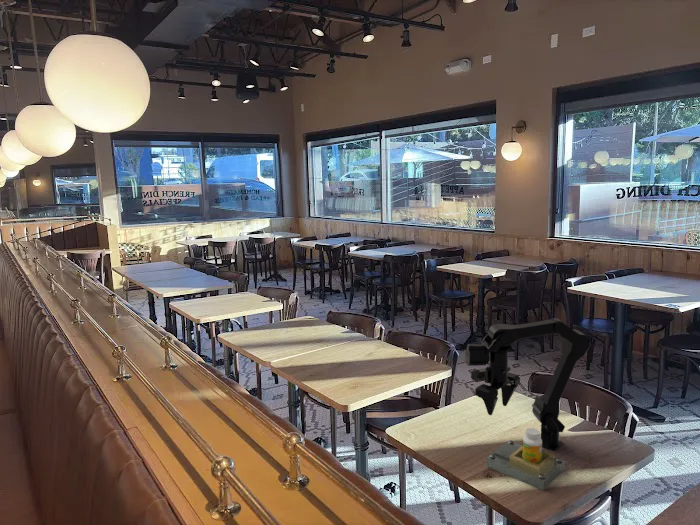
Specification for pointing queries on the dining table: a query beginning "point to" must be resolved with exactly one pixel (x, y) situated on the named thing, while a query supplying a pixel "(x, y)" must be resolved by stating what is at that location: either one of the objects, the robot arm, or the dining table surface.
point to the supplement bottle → (532, 446)
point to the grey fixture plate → (525, 465)
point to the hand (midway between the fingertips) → (497, 410)
